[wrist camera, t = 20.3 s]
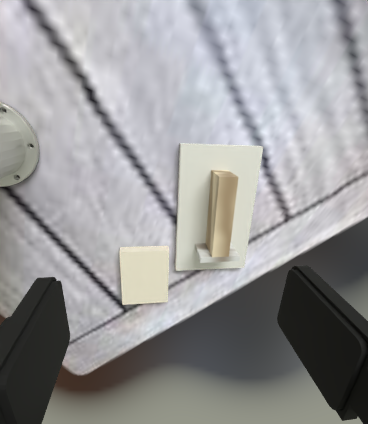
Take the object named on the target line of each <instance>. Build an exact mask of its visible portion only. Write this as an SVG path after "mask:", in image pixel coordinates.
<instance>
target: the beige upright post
mask: <svg viewBox="0 0 368 424" xmlns="http://www.w3.org/2000/svg"><path fill="white" fill-rule="evenodd" d="M238 178H239V177H238V176H236V175H235V174H233V173H232V172H230V171H229V170H211V181H210V193H209V206H208V218H207V231H206V243H197V244H195V250H196V253H197V255H198V258H199V261H200V263H208V262H229V261H239V259H240V255H239V254H238V252H237V251H236V249H235V248H234V246H233V245H232V243H231V235H232V227H233V219H234V210H235V202H236V194H237V186H238Z"/></svg>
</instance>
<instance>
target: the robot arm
mask: <svg viewBox="0 0 368 424" xmlns="http://www.w3.org/2000/svg"><path fill="white" fill-rule="evenodd" d="M5 109H6V112H5ZM32 144H33V146H34V147H32ZM38 160H39V144H38V141H37V138H36V135H35V133H34V131H33V129H32V127H31V126H30V125H29V123H28V122H27V120H26V119H25V118H24V117H23V116H22V115H21V114H20V113H18V112H17V111H16V110H14V109H13V108H12V107H10V106H8V105H6V104H4V103H2V102H0V187H3V186H10V185H14V184H17V183H19V182H21V181H23V180H24V179H26V178H28V177H29V176H30V175H31V174H32V173H33V171H34V169H35V168H36V166H37V163H38ZM18 175H19V176H20V177H18ZM277 319H278V324H279V326H280V328H281V329H282V331H283V333H284V334H285V336H286V338H287V339H288V341H289V342H290V344H291V345H292V347H293V349H294V350H295V352H296V354H297V355H298V357H299V358H300V360H301V361H302V363H303V365H304V366H305V368H306V369H307V371H308V373H309V374H310V376H311V377H312V379H313V381H314V382H315V384H316V385H317V387H318V388H319V390H320V392H321V393H322V395H323V396H324V398H325V400H326V401H327V403H328V404H329V406H330V407H331V408H332V409H334V410H336V412H337V413H338V415H339V416H340V418H341V419H342V421H344V420H351V419H356V418H357V417H359V418H360V419H361V421H362V422H363V424H368V321H367V320H366V319H365V318H364V317H363V316H362V315H360V314H359V313H358V312H357V311H356V310H355V309H354V308H353V307H352V306H351V305H350V304H349V303H347V302H346V301H345V300H344V299H343V298H342V297H341V296H340V295H339V294H338V293H337V292H336V291H335V290H334V289H333V288H331V287H330V286H329V285H328V284H327V283H326V282H325V281H324V280H323V279H322V278H321V277H320V276H319V275H318V274H316V273H315V272H314V271H313V270H312V269H311V268H310V267H308V266H294V267H293V268H292V269H291V270H289V272H288V275H287V279H286V284H285V288H284V292H283V296H282V300H281V305H280V309H279V313H278V318H277ZM69 340H70V331H69V325H68V319H67V314H66V308H65V302H64V296H63V290H62V284H61V281H56V278H55V277H47V278H37V279H36V280H35V282H34V283H33V285H32V286H31V288H30V289H29V291H28V292H27V294H26V295H25V297H24V298H23V300H22V301H21V302H20V304H19V305H18V307H17V308H16V310H15V311H14V313H13V314H12V316H11V317H8V318H6V319H5V320H4V321H3V322H2V324H1V325H0V424H41V423H42V420H43V418H44V415H45V412H46V409H47V406H48V403H49V400H50V397H51V394H52V391H53V388H54V385H55V383H56V380H57V377H58V374H59V371H60V368H61V365H62V362H63V359H64V356H65V353H66V350H67V348H68V345H69Z"/></svg>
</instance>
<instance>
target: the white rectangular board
mask: <svg viewBox="0 0 368 424" xmlns="http://www.w3.org/2000/svg"><path fill="white" fill-rule="evenodd" d="M262 152H263V147H262V146H248V145H217V144H187V143H180V149H179V175H178V202H177V229H176V255H175V269H176V271H181V270H203V269H225V268H244V264H245V258H246V252H247V246H248V239H249V233H250V227H251V221H252V214H253V208H254V202H255V196H256V189H257V183H258V177H259V171H260V164H261V158H262ZM211 170H229V171H230V172H232V173H233V174H235V175H236V176H238V177H239V178H238V186H237V194H236V202H235V210H234V219H233V227H232V235H231V243H232V245H233V246H234V248H235V249H236V251H237V252H238V254H239V255H240V259H239V261H229V262H208V263H200V261H199V258H198V255H197V253H196V250H195V244H197V243H206V231H207V218H208V206H209V193H210V181H211Z"/></svg>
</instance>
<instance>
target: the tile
mask: <svg viewBox="0 0 368 424" xmlns="http://www.w3.org/2000/svg"><path fill="white" fill-rule="evenodd" d="M119 253H120V270H121V288H122V305H127V304H143V303H160V302H168V271H169V247H168V246H145V247H120V252H119Z"/></svg>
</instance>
